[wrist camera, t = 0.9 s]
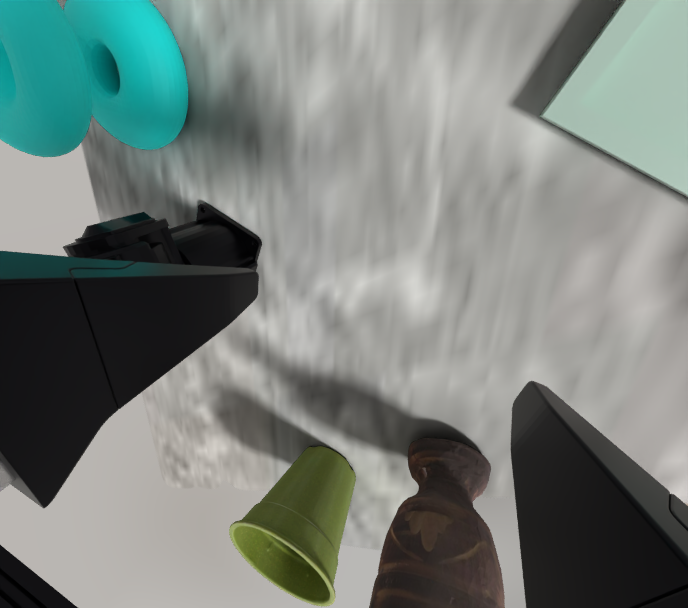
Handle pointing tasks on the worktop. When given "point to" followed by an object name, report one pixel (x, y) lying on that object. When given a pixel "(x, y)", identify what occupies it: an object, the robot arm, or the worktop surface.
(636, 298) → the worktop surface
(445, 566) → the mortar and pestle
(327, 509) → the plant pot
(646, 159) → the tray
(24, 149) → the donuts
